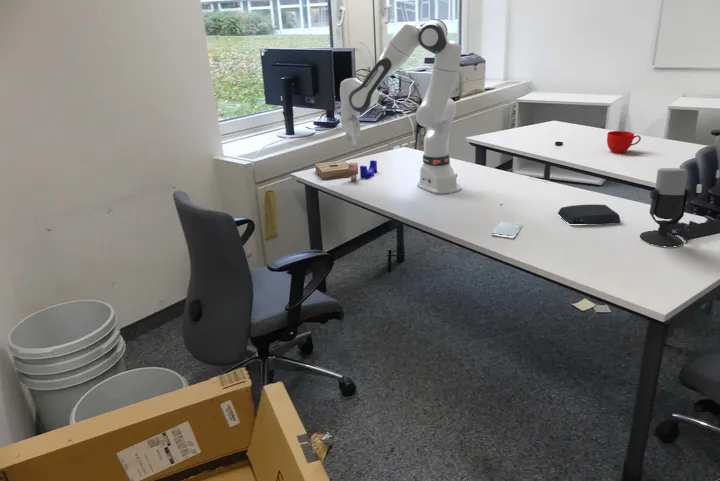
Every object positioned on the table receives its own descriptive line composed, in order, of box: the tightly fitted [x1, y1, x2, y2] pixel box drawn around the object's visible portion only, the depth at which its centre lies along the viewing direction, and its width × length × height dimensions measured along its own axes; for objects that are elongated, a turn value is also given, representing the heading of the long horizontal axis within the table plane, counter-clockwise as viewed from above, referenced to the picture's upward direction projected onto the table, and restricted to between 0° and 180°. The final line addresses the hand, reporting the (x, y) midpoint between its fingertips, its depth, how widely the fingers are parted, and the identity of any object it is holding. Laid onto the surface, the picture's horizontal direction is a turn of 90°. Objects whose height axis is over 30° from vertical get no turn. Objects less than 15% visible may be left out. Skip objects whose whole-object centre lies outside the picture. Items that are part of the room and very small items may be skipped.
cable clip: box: [359, 159, 378, 179], centre depth 258 cm, size 12×4×6 cm, turn 150°
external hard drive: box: [557, 203, 621, 225], centre depth 194 cm, size 13×19×4 cm
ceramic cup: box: [606, 130, 642, 154], centre depth 275 cm, size 13×17×10 cm
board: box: [314, 160, 351, 180], centre depth 264 cm, size 16×16×4 cm
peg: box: [348, 161, 359, 182], centre depth 250 cm, size 5×5×8 cm
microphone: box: [639, 167, 693, 247], centre depth 169 cm, size 13×13×25 cm
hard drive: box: [491, 221, 523, 236], centre depth 187 cm, size 2×8×12 cm
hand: (351, 142), depth 244 cm, fingers open, 8 cm apart
